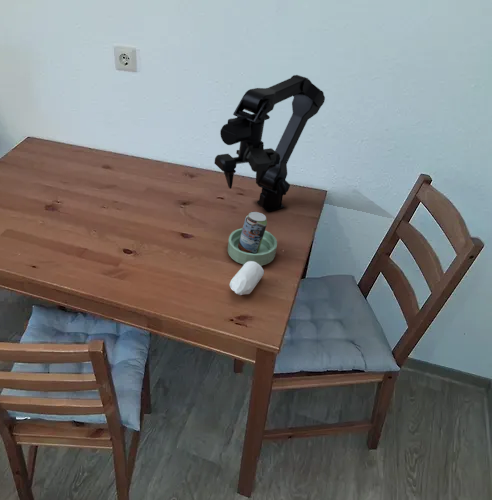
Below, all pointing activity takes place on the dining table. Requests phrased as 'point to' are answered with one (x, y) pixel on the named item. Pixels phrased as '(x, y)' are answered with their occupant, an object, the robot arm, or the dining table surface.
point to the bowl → (262, 257)
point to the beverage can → (252, 232)
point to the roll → (247, 278)
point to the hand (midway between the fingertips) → (243, 185)
